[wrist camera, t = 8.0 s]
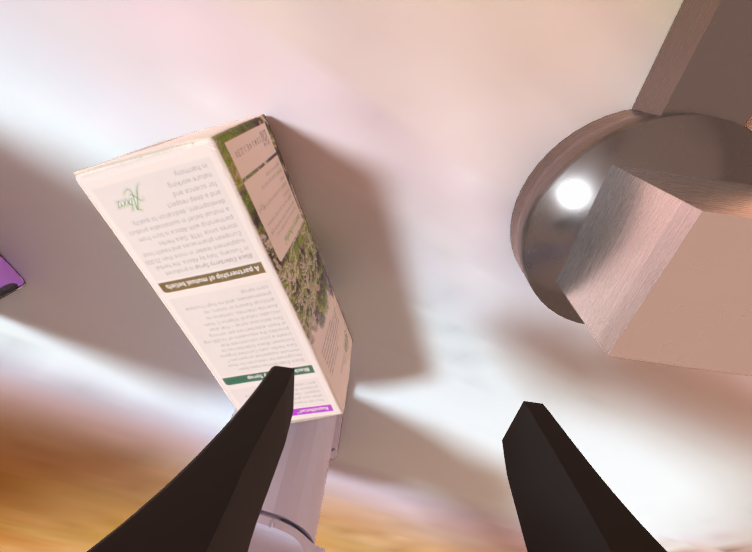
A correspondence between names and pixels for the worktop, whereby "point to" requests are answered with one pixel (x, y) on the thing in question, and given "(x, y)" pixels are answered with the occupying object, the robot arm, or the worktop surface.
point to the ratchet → (646, 138)
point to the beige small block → (666, 270)
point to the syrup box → (231, 259)
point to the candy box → (9, 279)
